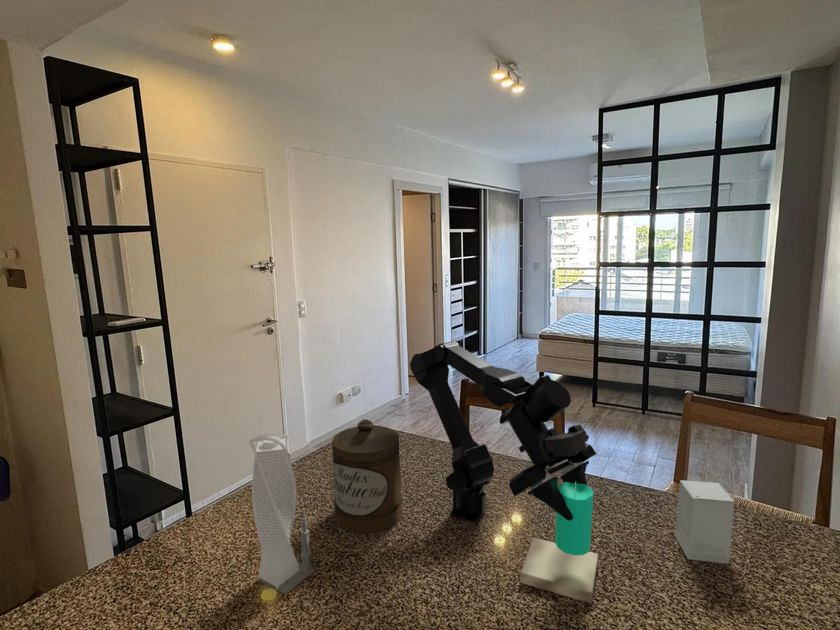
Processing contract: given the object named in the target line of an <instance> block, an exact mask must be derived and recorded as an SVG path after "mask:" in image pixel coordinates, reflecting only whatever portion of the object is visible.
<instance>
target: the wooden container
mask: <svg viewBox="0 0 840 630" xmlns="http://www.w3.org/2000/svg"><path fill="white" fill-rule="evenodd" d="M331 440H332V442H331V448H332V456H333V459H332V460H333V462H332V463H333V496H334V497H333V499H334V515H335V521H336V523H337V524H338V526H340V527H341V528H342V529H345V530H346V531H349V532H352V533H359V534H360V533H361V534H371V533H377V532H382V531H384V530H387V529H389V528H390V527H392V526H394V525H395V524H396V523H397V522H398V521H399V520H400V519H401V516H402V508H403V506H402V479H401V478H402V476H401V475H402V473H401V459H400V438H399V434H398V432H397V431H396V430H394V429H393V428H391V427H388V426H383V425H375V424H374V423H373V421H372V420H369V419H362V420H361V421H359V422H358V423H357V425H356V426H353V427H350V428H349V427H348V428H347V429H344V430H342V431H341V430H340V431H339V432H338V433H336V434H335V435H334V436H333V438H332V439H331Z"/></svg>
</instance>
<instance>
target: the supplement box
mask: <svg viewBox="0 0 840 630" xmlns="http://www.w3.org/2000/svg"><path fill="white" fill-rule="evenodd" d="M677 503H678V504H677V515H676V516H677V517H676V527H675V539H676V540H677V542H678V544H679V545H680V547H681V549H682V551H683V553H684V554H685V556H686V558H687V560H690V561H691V560H692V561H699V562H707V563H708V562H709V563H710V562H711V563H716V564H717V563H718V564H719V563H720V564H728V565H729V564H730V557H731V556H730V555H731V545H732V534H733V523H734V522H733V521H734V511H735V503H736V502H735V500H734V499H733V498H732V497H731V496H730V495H729V493H728V492H727V491H726V490H725V488H724V487H722V485H721V484H720V483H719V482H711V481H709V482H708V481H697V480H696V481H695V480H682V479H681V480H679V489H678V501H677Z"/></svg>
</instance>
